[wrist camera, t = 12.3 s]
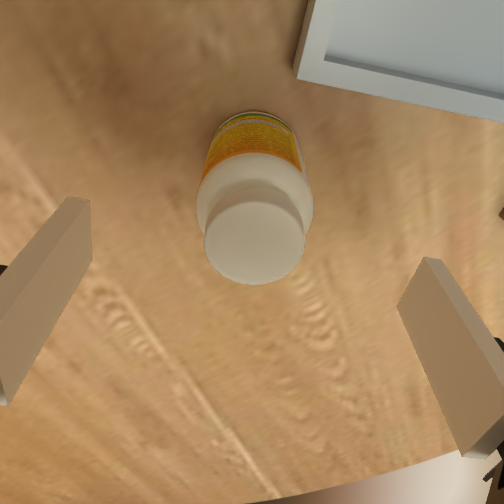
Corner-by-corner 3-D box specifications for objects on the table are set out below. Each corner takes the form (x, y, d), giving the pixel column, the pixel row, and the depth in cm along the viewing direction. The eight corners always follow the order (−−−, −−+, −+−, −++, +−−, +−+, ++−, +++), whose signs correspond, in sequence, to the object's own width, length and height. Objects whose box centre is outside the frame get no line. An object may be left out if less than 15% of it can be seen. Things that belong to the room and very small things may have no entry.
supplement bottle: (314, 171, 24) (344, 270, 16) (237, 208, 25) (230, 315, 17) (274, 89, 21) (287, 160, 13) (190, 136, 22) (158, 225, 15)
